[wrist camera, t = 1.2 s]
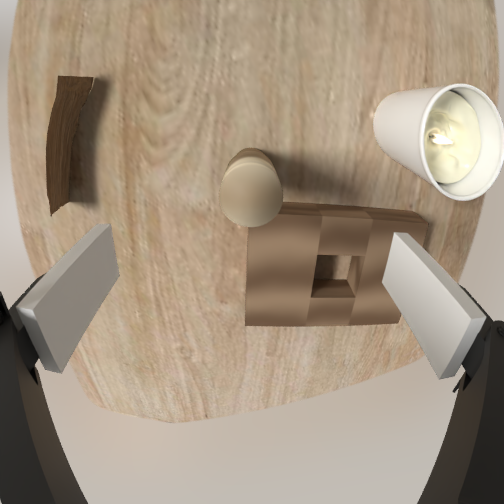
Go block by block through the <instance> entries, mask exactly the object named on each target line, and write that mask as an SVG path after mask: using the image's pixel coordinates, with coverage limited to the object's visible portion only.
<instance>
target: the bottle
mask: <svg viewBox="0 0 504 504" xmlns="http://www.w3.org/2000/svg"><path fill="white" fill-rule="evenodd" d="M219 203H220V206H221V209H222V211H223V213H224V214H225V215H226V216H227V218H229V219H230V220H231V221H232V222H234V223H236V224H238V225H241V226H245V227H257V226H261V225H264V224H266V223H268V222H270V221H271V220H272V219H273V218H274V217H275V216H276V215H277V214H278V212H279V211H280V209H281V206H282V203H283V190H282V186H281V184H280V181H279V178H278V176H277V173H276V171H275V168H274V166H273V164H272V162H271V161H270V159H269V158H268V157H267V156H265V155H264V154H263V153H262V152H261V151H260V150H258V149H255V148H246V149H243V150H241V151H240V152H239V153H238V154H237V155H236V156H235V157H234V158H233V159H232V160H231V161H230V162H229V164H228V167H227V169H226V172H225V175H224V178H223V181H222V184H221V186H220V190H219Z"/></svg>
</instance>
